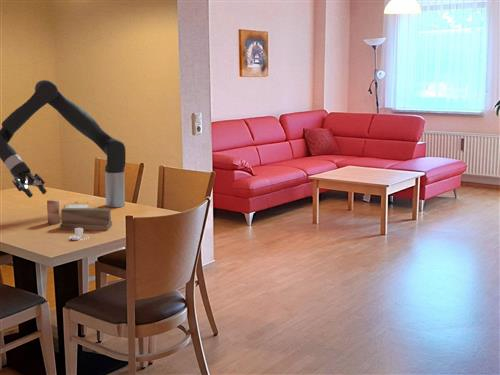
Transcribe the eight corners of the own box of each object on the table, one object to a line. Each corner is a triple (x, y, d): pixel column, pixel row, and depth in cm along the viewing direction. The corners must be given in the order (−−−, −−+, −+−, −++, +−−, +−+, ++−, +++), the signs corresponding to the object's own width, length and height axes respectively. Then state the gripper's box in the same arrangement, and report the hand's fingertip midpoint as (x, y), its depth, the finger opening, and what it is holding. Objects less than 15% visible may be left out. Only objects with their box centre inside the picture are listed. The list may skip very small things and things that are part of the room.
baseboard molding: (58, 223, 273) (86, 222, 276) (58, 217, 273) (86, 216, 275) (62, 208, 303) (88, 207, 306) (62, 202, 302) (87, 201, 305)
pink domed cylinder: (49, 221, 274) (48, 199, 272) (61, 221, 274) (60, 199, 272) (46, 224, 269) (45, 201, 267) (57, 224, 269) (57, 202, 267)
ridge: (66, 224, 269) (65, 206, 268) (112, 225, 270) (111, 207, 268) (60, 229, 260) (59, 211, 259) (107, 230, 261) (107, 211, 259)
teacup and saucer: (74, 242, 243) (74, 232, 242) (63, 238, 248) (62, 229, 247) (93, 238, 250) (93, 228, 249) (81, 234, 255) (81, 225, 254)
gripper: (9, 163, 267) (31, 192, 265) (33, 159, 280) (54, 186, 277) (0, 174, 270) (22, 202, 268) (24, 170, 283) (45, 197, 281)
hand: (38, 194), depth 273 cm, fingers open, 8 cm apart
